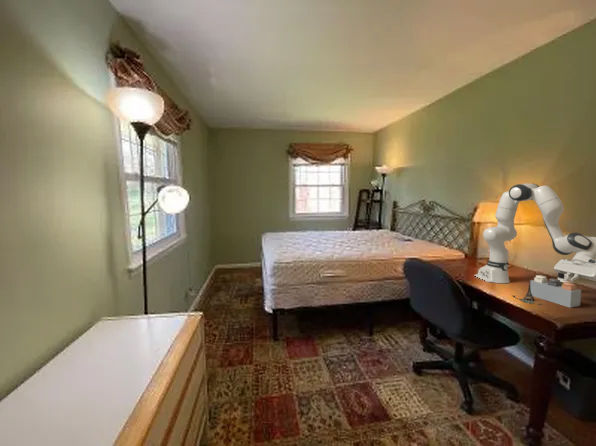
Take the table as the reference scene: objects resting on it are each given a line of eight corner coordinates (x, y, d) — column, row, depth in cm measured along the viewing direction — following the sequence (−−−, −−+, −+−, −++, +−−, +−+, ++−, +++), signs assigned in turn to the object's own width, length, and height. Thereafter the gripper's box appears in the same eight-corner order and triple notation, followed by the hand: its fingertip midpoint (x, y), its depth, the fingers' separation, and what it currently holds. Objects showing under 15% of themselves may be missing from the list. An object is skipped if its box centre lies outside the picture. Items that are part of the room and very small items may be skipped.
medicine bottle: (553, 290, 195) (554, 272, 193) (559, 288, 197) (561, 270, 196) (566, 293, 188) (567, 274, 187) (573, 292, 191) (574, 273, 189)
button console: (529, 294, 187) (529, 280, 186) (538, 293, 190) (539, 279, 189) (570, 307, 166) (571, 291, 165) (580, 305, 169) (581, 289, 168)
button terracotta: (560, 295, 172) (561, 282, 171) (566, 294, 173) (567, 281, 173) (570, 298, 167) (571, 285, 167) (576, 297, 169) (577, 284, 168)
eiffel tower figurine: (510, 296, 187) (511, 275, 186) (527, 296, 186) (529, 274, 185) (527, 305, 172) (528, 282, 171) (546, 305, 171) (547, 282, 170)
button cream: (533, 287, 186) (533, 275, 185) (538, 287, 188) (539, 274, 187) (541, 290, 182) (542, 277, 181) (547, 289, 183) (548, 276, 182)
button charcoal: (546, 291, 179) (547, 279, 178) (552, 290, 180) (553, 278, 180) (555, 294, 175) (556, 281, 174) (561, 293, 176) (562, 280, 175)
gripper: (559, 255, 180) (546, 272, 178) (602, 262, 161) (588, 282, 159) (563, 261, 182) (551, 279, 180) (607, 269, 162) (593, 289, 160)
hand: (569, 281), depth 169 cm, fingers closed
